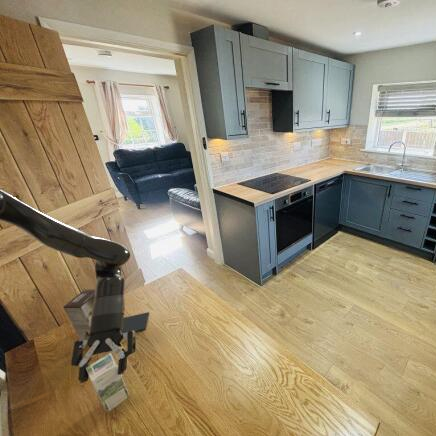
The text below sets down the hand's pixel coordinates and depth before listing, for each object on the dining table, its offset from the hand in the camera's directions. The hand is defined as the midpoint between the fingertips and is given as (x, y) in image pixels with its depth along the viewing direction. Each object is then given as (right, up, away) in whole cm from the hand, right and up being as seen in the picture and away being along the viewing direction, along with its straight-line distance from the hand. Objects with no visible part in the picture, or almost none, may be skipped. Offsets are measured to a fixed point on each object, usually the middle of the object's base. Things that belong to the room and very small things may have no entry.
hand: (102, 377), depth 63 cm
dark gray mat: (-18, 0, +29) cm, 34 cm away
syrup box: (-1, -10, +6) cm, 11 cm away
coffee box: (-24, -1, +28) cm, 37 cm away
